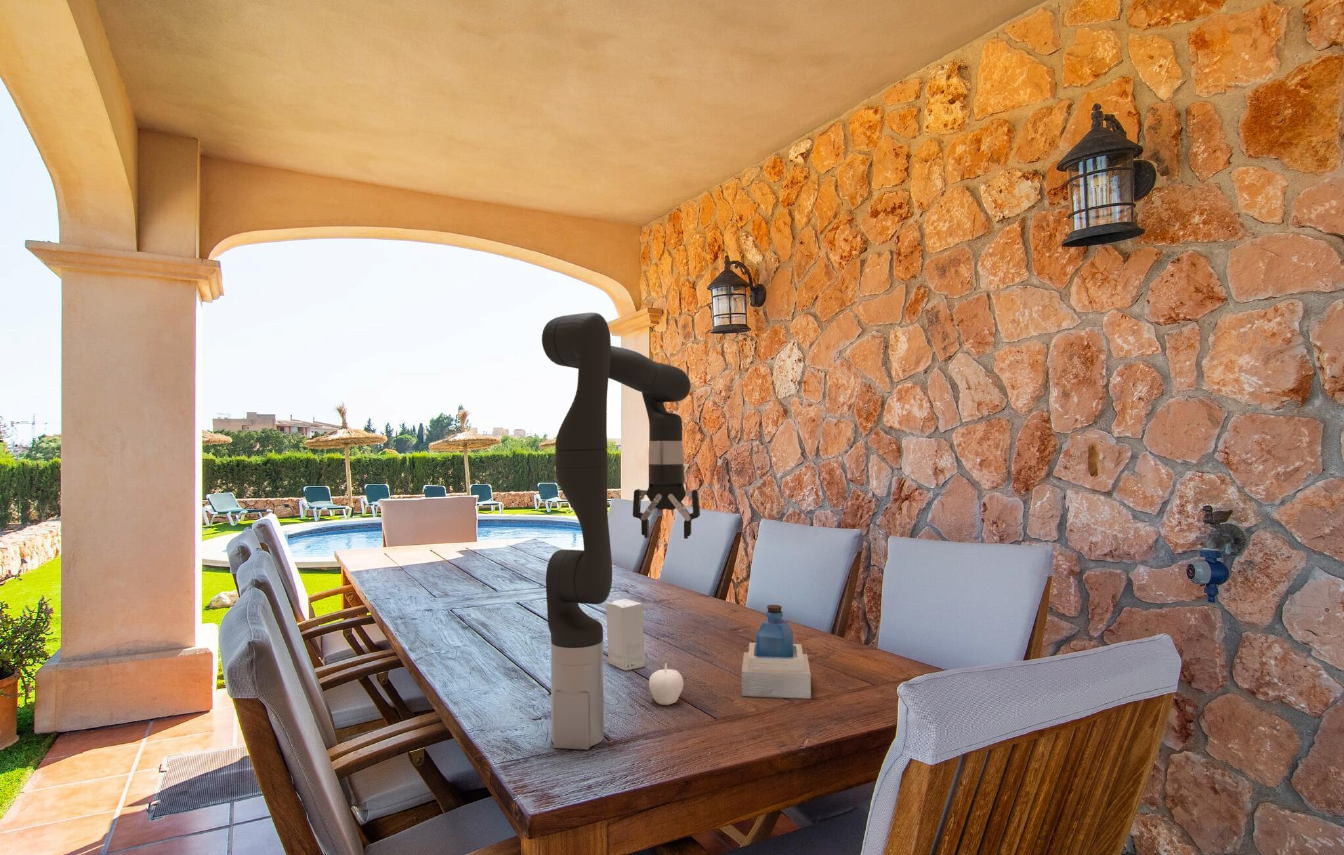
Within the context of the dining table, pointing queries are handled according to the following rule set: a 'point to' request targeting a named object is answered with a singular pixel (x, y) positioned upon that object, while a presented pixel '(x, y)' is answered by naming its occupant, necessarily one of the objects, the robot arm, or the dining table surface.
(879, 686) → the dining table surface
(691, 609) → the dining table surface
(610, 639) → the skincare box
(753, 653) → the white square stand
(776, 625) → the perfume bottle
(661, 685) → the plain white apple
